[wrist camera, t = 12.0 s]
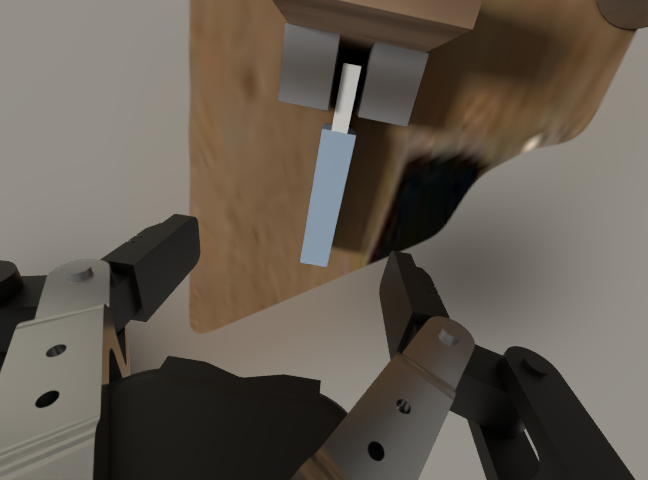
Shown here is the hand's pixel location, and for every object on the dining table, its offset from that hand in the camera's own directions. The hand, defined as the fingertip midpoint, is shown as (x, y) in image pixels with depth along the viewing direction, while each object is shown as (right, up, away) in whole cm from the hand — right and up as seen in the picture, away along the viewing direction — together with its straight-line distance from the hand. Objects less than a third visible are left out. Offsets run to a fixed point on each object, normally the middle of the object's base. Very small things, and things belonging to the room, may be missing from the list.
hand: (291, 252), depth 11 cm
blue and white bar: (+2, +8, +19) cm, 21 cm away
